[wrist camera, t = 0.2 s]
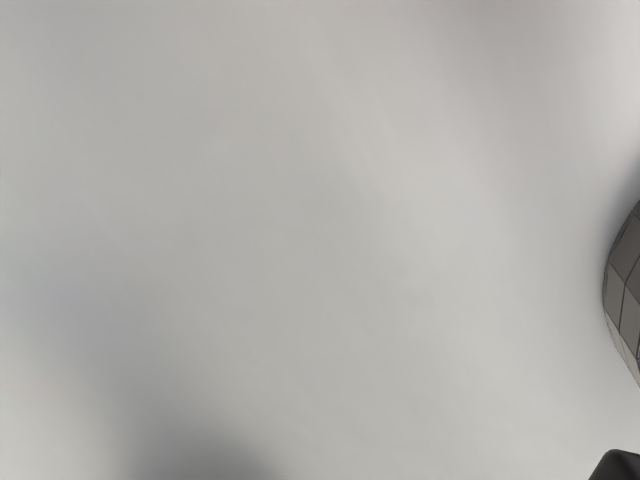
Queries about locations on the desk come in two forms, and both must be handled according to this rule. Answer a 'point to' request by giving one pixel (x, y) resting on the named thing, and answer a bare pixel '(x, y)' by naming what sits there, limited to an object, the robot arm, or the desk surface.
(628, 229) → the pan
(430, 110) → the desk surface
